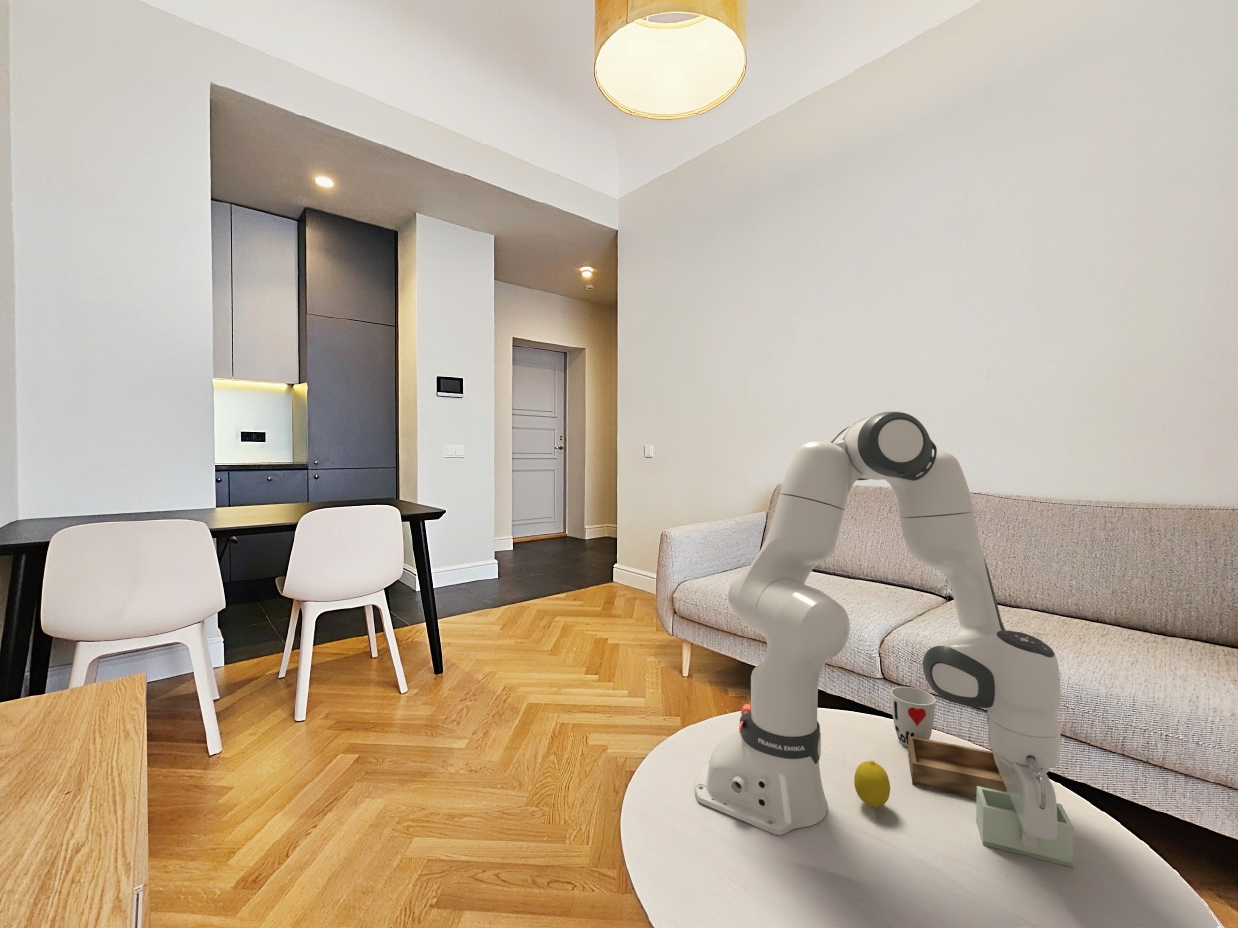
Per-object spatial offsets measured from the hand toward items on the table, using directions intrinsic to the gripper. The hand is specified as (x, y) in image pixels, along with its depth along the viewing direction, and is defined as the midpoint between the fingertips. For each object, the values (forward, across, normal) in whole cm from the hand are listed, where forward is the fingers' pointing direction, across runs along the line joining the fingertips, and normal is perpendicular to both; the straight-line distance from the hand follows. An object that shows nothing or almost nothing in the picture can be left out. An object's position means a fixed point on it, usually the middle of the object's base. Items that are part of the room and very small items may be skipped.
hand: (1021, 828), depth 82 cm
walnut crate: (+2, +14, +6) cm, 16 cm away
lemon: (+2, 0, +21) cm, 21 cm away
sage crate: (+2, 0, 0) cm, 2 cm away
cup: (+2, +25, +13) cm, 28 cm away
